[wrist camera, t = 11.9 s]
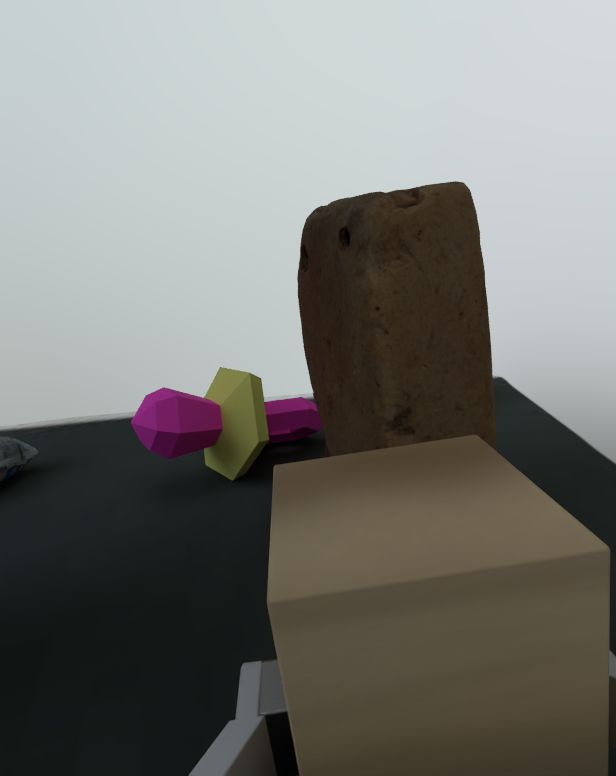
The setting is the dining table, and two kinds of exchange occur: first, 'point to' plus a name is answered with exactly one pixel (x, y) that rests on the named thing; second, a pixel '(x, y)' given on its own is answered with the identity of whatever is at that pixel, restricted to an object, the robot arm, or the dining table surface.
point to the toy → (222, 422)
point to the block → (397, 319)
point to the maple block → (437, 617)
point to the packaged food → (14, 456)
